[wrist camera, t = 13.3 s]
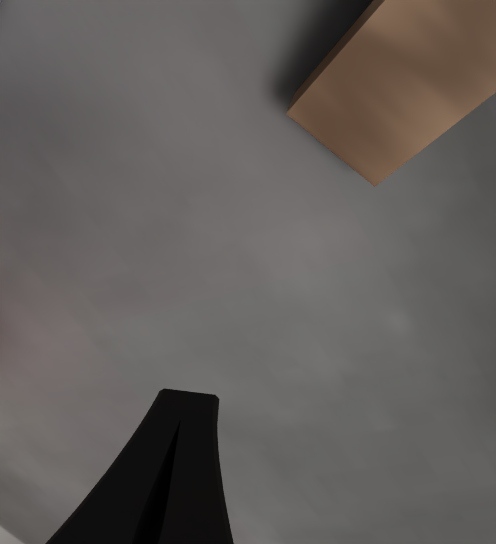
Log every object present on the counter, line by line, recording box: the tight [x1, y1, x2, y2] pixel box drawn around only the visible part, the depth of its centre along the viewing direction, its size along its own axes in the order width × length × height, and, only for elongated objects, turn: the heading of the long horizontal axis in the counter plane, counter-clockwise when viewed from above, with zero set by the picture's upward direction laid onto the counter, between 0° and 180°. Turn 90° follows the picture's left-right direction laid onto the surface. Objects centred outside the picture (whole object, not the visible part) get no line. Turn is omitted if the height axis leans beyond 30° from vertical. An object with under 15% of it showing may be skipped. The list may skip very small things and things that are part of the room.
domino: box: [286, 0, 496, 187], centre depth 13 cm, size 4×2×7 cm
